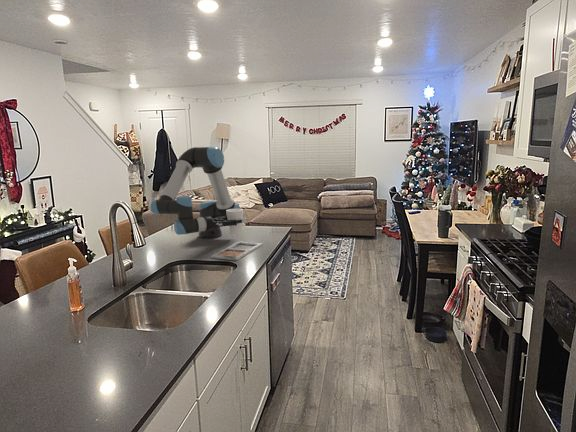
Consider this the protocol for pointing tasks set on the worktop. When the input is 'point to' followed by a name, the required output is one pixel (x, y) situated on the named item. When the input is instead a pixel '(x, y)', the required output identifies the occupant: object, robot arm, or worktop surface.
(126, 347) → the worktop surface
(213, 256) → the flat grey tray
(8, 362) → the worktop surface
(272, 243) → the worktop surface
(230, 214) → the foam cup
